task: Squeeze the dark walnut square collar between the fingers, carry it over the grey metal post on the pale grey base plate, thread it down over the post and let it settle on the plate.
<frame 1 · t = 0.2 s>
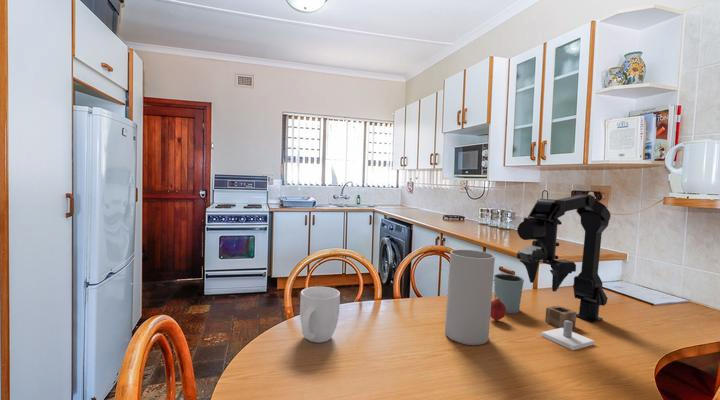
hand: (542, 286, 117), 14 cm above the table, tool pointing down, fingers open, 9 cm apart
onion: (495, 321, 123), on the table
post base: (566, 340, 110), on the table
grey-blue tapered cup: (506, 309, 135), on the table
cylinder vase: (466, 337, 109), on the table
mug: (316, 339, 102), on the table
collar: (559, 324, 123), on the table
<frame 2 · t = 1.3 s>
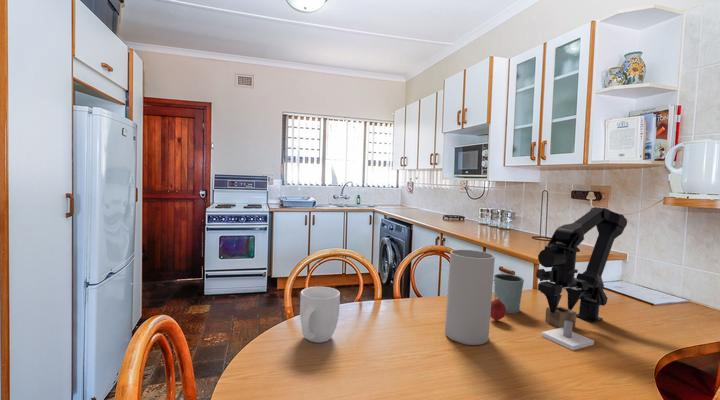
hand: (561, 311, 123), 5 cm above the table, tool pointing down, fingers open, 9 cm apart
nothing on the table moved.
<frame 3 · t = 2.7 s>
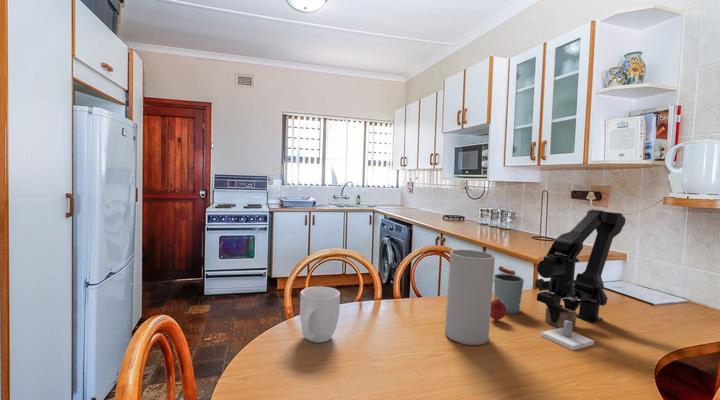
hand: (560, 321, 123), 1 cm above the table, tool pointing down, fingers closed on collar, 6 cm apart
collar: (559, 324, 123), on the table, touching gripper
everything else where it was.
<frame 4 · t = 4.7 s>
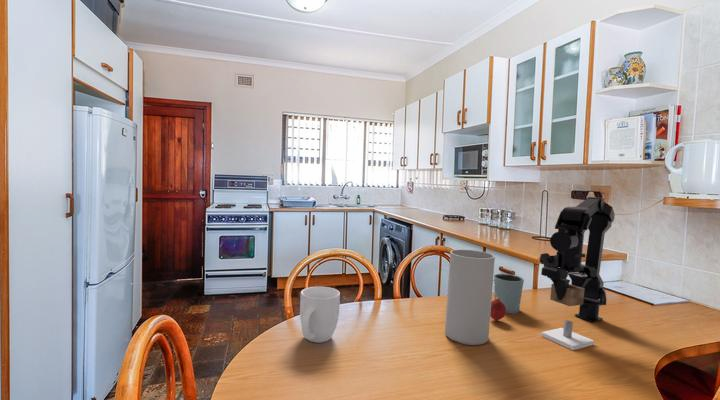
hand: (566, 298, 113), 12 cm above the table, tool pointing down, fingers closed on collar, 6 cm apart
collar: (566, 302, 113), point 11 cm above the table, touching gripper
everything else where it was.
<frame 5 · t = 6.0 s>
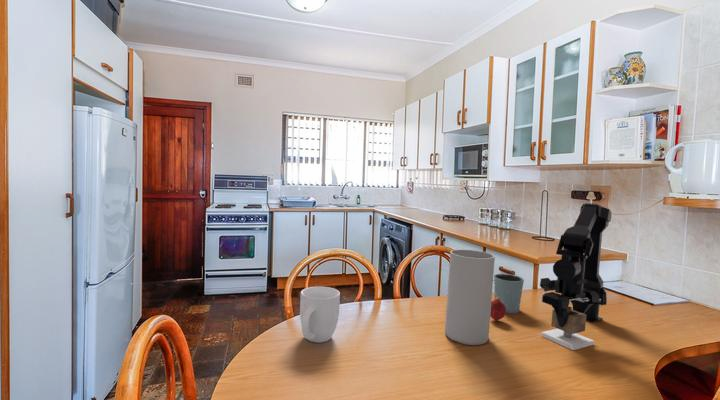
hand: (568, 325, 110), 5 cm above the table, tool pointing down, fingers closed on collar, 6 cm apart
collar: (567, 328, 110), point 4 cm above the table, touching gripper
everything else where it was.
when the fingers open (4 cm above the table, at t = 7.0 s): collar drops 1 cm, resting on post base.
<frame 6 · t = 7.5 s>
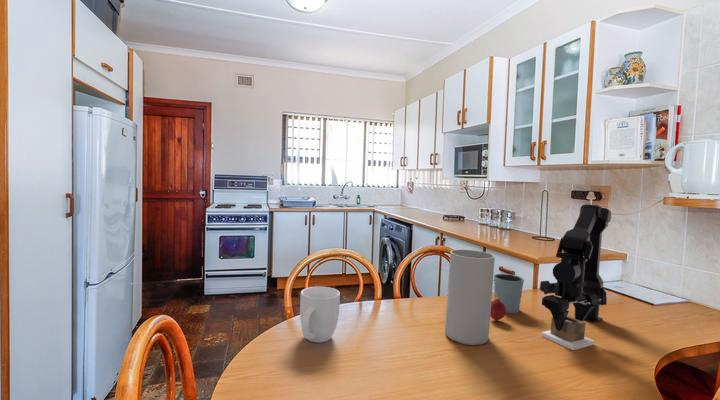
hand: (568, 328, 110), 4 cm above the table, tool pointing down, fingers open, 9 cm apart
collar: (567, 336, 110), point 1 cm above the table, touching post base
everything else where it was.
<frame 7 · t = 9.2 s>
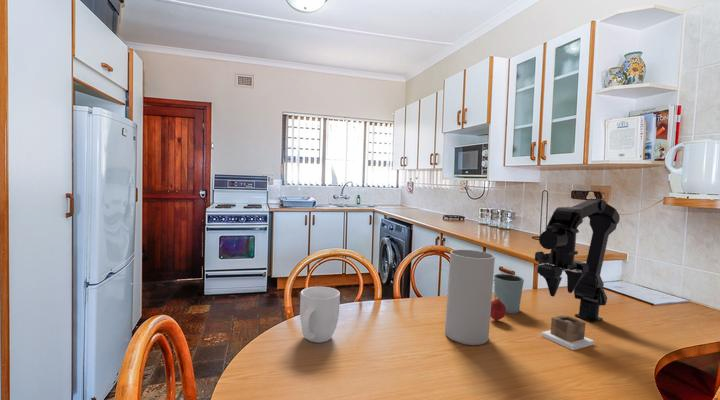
hand: (561, 294, 119), 11 cm above the table, tool pointing down, fingers open, 9 cm apart
nothing on the table moved.
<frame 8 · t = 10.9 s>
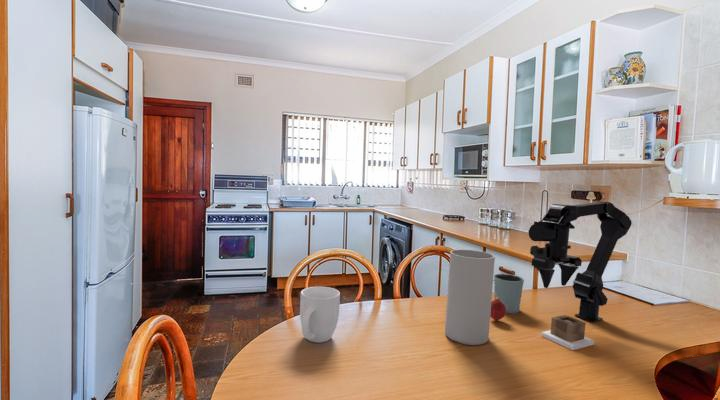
hand: (554, 286, 125), 12 cm above the table, tool pointing down, fingers open, 9 cm apart
nothing on the table moved.
at the end: collar 0.1 cm off-centre on the post base, point 1.2 cm above the post base's base; collar tilted 0°; the gripper is holding nothing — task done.
